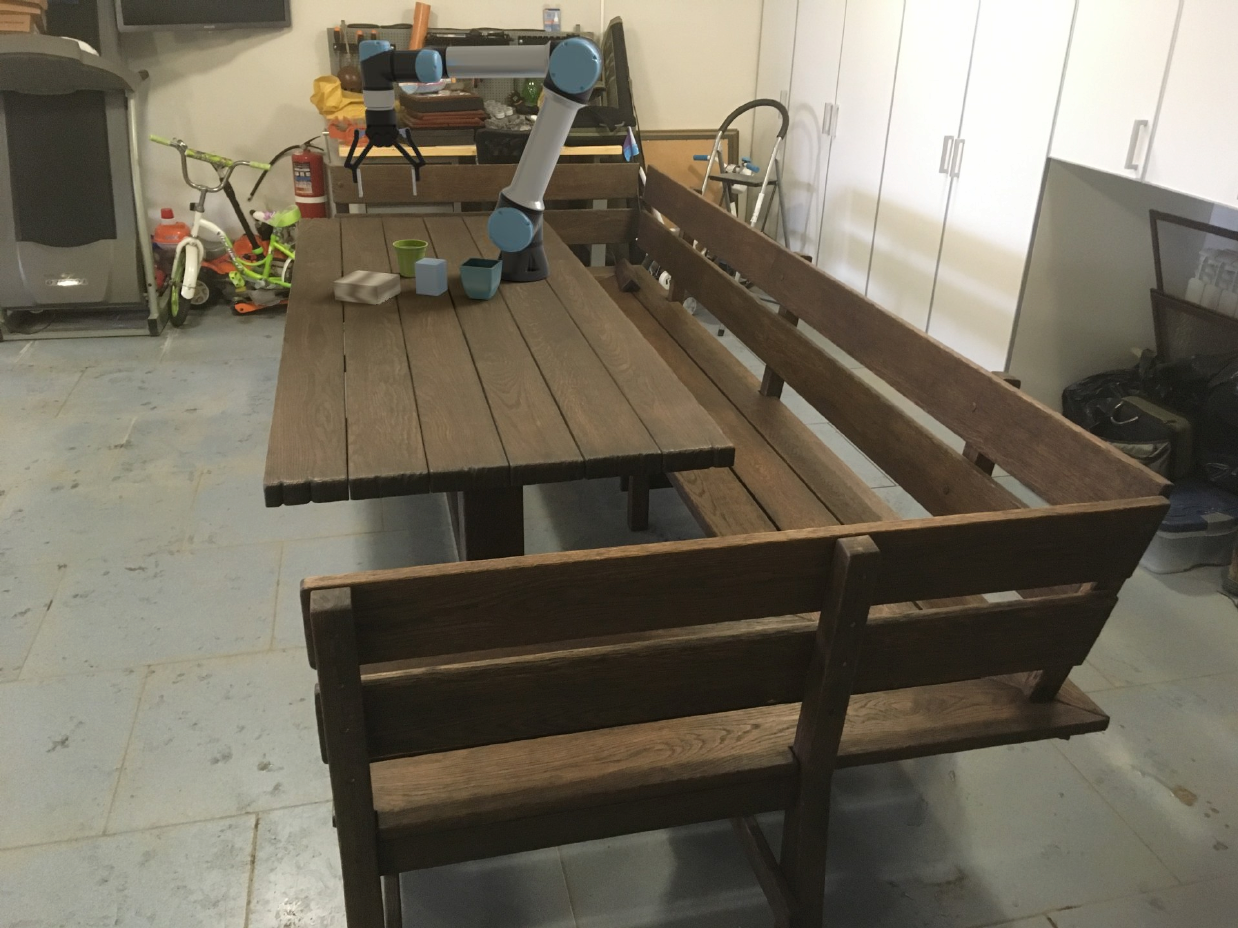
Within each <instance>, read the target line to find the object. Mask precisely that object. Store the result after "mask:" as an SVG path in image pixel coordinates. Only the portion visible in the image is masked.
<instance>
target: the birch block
mask: <svg viewBox="0 0 1238 928" xmlns="http://www.w3.org/2000/svg"><path fill="white" fill-rule="evenodd" d="M400 275H401V274H397V273H388V272H387V273H386V272H378V271H369V270H359V269H358V270H355V271H352V272H350V273H349V274H346V275H344V276H342V277H341V278H338V279H337V280H334V281H333V289H334V300H335V301H341V302H342V301H343V302H349V303H350V302H351V303H357V304H358V303H361V304H369V305H376V304H379V305H381V304H382V302H383V303H385V302H386V301H388V300H390V299H392V298H393V297H395V296H397V295H398V294H400V293H401V276H400ZM389 298H390V299H389ZM385 300H386V301H385Z"/></svg>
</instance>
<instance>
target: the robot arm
mask: <svg viewBox="0 0 1238 928" xmlns="http://www.w3.org/2000/svg"><path fill="white" fill-rule="evenodd" d="M358 45H359V46H358V49H359V50H358V52H359V53H358V54H359V55H358V56H359V62H358V63H359V66H360V76H361V83H362V99H363V105H364V107H365V108H366V109H365V110H364V116H365V127H366V128H365V129H359V128H357V127H356V128H354V131H353V139H352V142H351V145H350V148H349V151H348V152H347V155H346V159H345V162H344V164H343V166H344V168H345V169H349V170H351V174H352V182H353V184H357V186H358V187H357V188H358V196H359V198H363V194H364V193H363V186H362V176H361V175H362V174H361V169H360V168H359V166H360V165H361V164H362V162H364V160H365V158H366V157H367V155H368V154H369V152H370V151H371V150H372V149H373V147H376V148H378V149H379V148H392V147H394V148H395V149H396V150H397V151H398V152H399V153H400V154H401V156H403V157H404V158H405V159H406V160H407V161H408V162H409V164H410V165H411V166H412V167H410V168H411V181H412V191H413V196H417V183H416V182H420V181H421V180H420V179H421V176H420V175H421V173H420V169H421V168H422V167H425V166H426V164H427V162H426V160H425V157H424V156H423V154H422V153H421V150H420V149H419V148H418V146H417V144H416V142H415V141H414V139H413V137H412V134H411V128H410V127H405V128H400V129H399V127H398V122H397V121H398V120H397V110H396V109H395V106H396V97H395V89H394V88H395V87H394V86H395V85H394V83H396V84H398V83H405V84H406V83H407V84H408V83H409V84H425V85H428V84H437V83H439V82H441V80H443V79H444V80H446V79H504V78H505V79H510V78H511V79H512V78H513V79H515V78H516V79H517V78H519V79H520V78H523V79H524V78H526V79H527V78H532V79H533V78H537V79H538V78H544V80H543V82H542V89H543V91H544V94H545V95H544V97H543V100H542V103H541V105H540V107H539V110H538V113H537V116H536V119H535V121H534V123H533V126H532V129H531V132H530V134H529V137H528V139H527V141H526V144H525V147H524V150H523V152H522V155H521V157H520V160H519V163H518V164H517V168H516V170H515V173H514V175H513V178H512V181H511V184H510V185H509V186H506V187H504V188H502V189H501V190H500V191H499V193H498V201H497V203H496V206H495V208H494V210H493V212H492V213H491V214H490V215H489V217H488V220H487V227H486V228H487V235H488V237H489V240H491V241H490V242H492V244H494V246H495V247H497V248H498V249H499V251H498V254H497V257H496V260H502V270H501V279H500V280H505V281H511V282H531V281H533V282H534V281H540V280H544V279H546V278H549V276H550V265H549V262H548V258H547V256H546V255H547V254H546V253H545V249H544V221H543V220H544V216H543V215H544V214H543V213H544V210H545V205H544V201H543V197H544V195H545V193H546V190H547V187H548V184H549V182H550V180H551V177H552V175H553V172H554V170H555V168H556V165H557V162H558V160H559V157H560V155H561V153H562V151H563V147H564V145H565V142H566V140H567V137H568V135H569V132H570V130H571V128H572V126H573V123H574V120H575V118H576V115H577V113H578V110H580V109H582V108H584V107H586V106H587V104H588V102H589V100H590V97H591V95H592V92H593V90H594V88H595V85H596V84H597V83H596V82H597V80H599V78H600V77H601V75H602V73H603V70H604V63H605V60H604V54H603V51H602V50H601V48H600V46H599V45H598V44H597V42H595V41H594V40H592V38H589V37H588V38H587V37H585V36H573V37H570V38H567V39H562V40H561V39H559V40H549V41H548V42H547V43H546V44H541V45H539V44H537V45H536V44H535V45H533V44H532V45H530V44H529V45H525V44H524V45H478V46H477V45H475V46H474V45H472V46H470V45H469V46H435V45H427V46H424V47H422V48H416V49H393V48H392V47H391V43H390V42H389V41H388V40H379V39H378V40H374V39H372V40H370V39H369V40H362V41H361V42H360V43H359V44H358ZM364 135H365V137H366V138H367V139H368V140H369V141H368V142H367V143H366V146H365V147H364V148H363V149H362V151H361V152H360V154H359V155H358V157H357V158H356V160H355V161H354V162H352V159H353V157H354V154H355V151H356V149H357V146H358V145H359V141H360V140H361V139H362V138H363V136H364ZM400 135H402V138H404V139H405V138H406V140H407V142H408V144H409V146H410V148H411V149H412V151H413V152H414V155H415V156H416V158H417V160H418V161H417V160H416V159H415V158H414V157H413V156H412V155H411V154H410V153H409V152H408V150H406V149H405V147H404V146H403V145H402V144H401V143H400V141H398V140H397V139H398V138H399V136H400ZM351 162H352V163H351Z"/></svg>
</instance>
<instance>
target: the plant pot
mask: <svg viewBox="0 0 1238 928" xmlns="http://www.w3.org/2000/svg"><path fill="white" fill-rule="evenodd" d="M428 245H429V243H428V242H427V241H424V240H420V239H401V240H397V241H394V242H393V243H392V247H393V248H394V251H395V252H396V253H395V254H396V257H397V258H396V259H397V262H398V267H399V273H400V274H399V275H401V276H402V277H405V278H412V279H413V278H415V263H416V262H418V261H419V260H421V259H423V258H426V257H425V255H426V251H427V247H428Z"/></svg>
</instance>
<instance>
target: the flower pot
mask: <svg viewBox="0 0 1238 928" xmlns="http://www.w3.org/2000/svg"><path fill="white" fill-rule="evenodd" d="M458 267H459V272H460V278H461V279H460V280H461V284H462V287H463V289H464V292H465V293H466V295H467V296H468V297H469V299H477V300H487V301H488V300H490V299H491V298H492V297H493V296H494V295H495V294H496V292H497V290H498V288H499V286H500V282H501V280H502V279H501V270H502V260H497V259H491V258H483V257H482V258H481V257H468V259H467V260H465V261H463V262H462V263H461V264H460V265H459V266H458Z"/></svg>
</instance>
